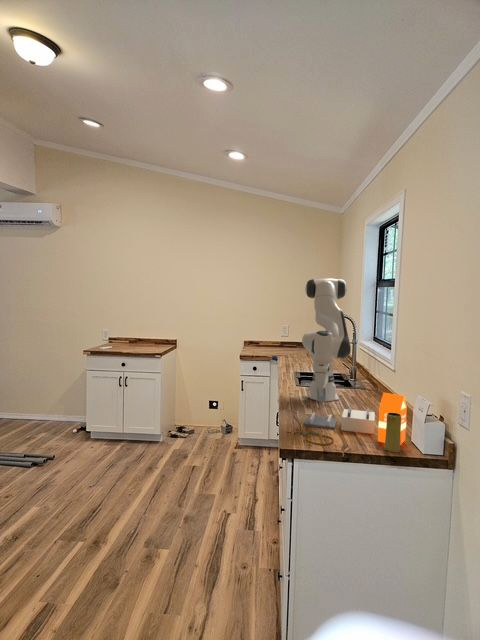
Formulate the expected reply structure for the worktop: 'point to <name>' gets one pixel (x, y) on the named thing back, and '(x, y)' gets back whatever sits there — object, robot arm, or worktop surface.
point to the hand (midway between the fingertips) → (321, 395)
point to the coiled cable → (315, 434)
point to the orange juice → (391, 405)
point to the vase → (393, 432)
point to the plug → (323, 395)
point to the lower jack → (320, 421)
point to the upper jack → (358, 421)
